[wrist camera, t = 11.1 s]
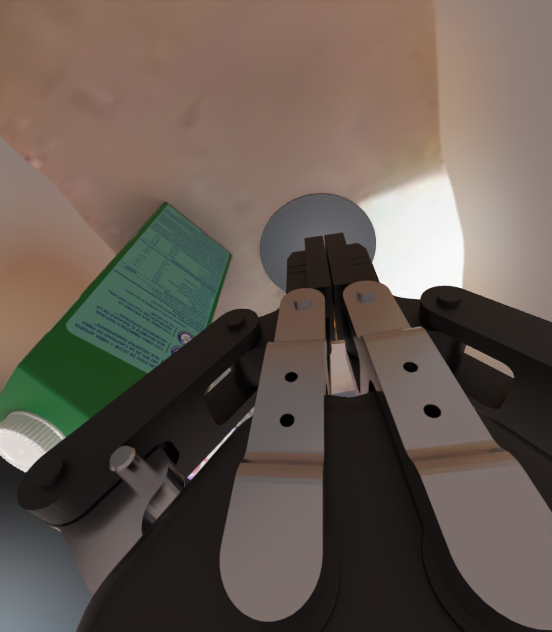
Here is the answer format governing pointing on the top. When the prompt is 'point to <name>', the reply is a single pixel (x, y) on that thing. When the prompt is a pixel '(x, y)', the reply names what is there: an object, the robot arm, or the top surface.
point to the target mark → (311, 230)
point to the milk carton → (113, 334)
